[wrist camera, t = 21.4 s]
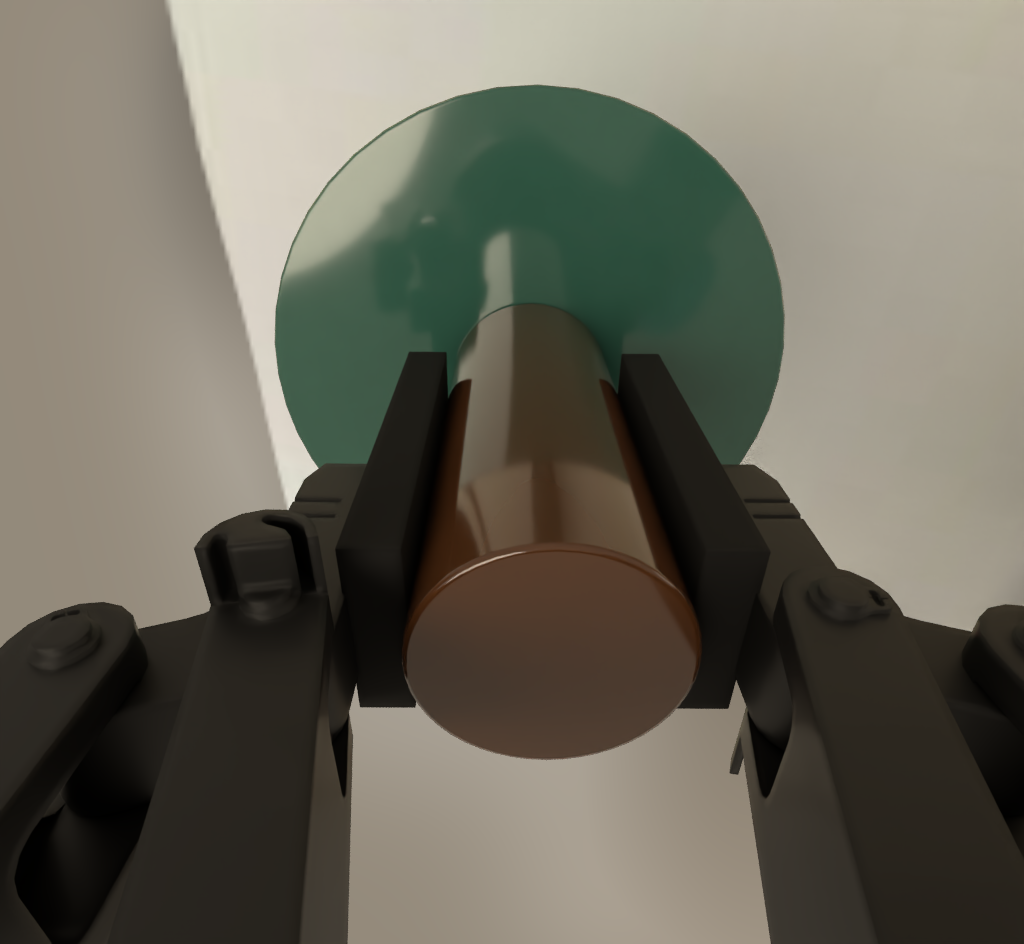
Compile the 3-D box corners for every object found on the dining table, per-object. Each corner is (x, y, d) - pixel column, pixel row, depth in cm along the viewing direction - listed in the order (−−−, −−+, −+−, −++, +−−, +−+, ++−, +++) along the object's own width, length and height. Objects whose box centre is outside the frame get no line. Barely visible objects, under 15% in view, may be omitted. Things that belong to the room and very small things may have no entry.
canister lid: (721, 548, 20) (894, 921, 11) (324, 546, 19) (173, 921, 11) (822, 89, 13) (1410, 88, 5) (245, 80, 13) (-260, 63, 5)
